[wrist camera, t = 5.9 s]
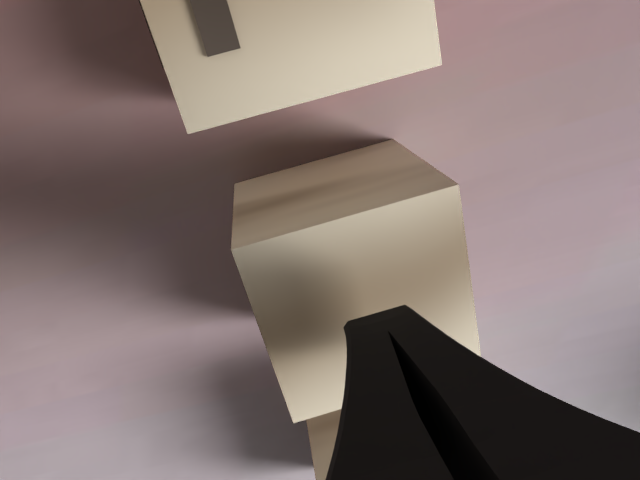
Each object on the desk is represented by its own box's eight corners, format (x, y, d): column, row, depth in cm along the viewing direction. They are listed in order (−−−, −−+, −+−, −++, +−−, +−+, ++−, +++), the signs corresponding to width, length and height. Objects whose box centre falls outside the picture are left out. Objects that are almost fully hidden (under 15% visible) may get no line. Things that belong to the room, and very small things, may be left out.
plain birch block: (417, 276, 17) (482, 366, 12) (279, 317, 17) (293, 423, 12) (392, 138, 15) (459, 184, 10) (234, 182, 15) (230, 249, 10)
